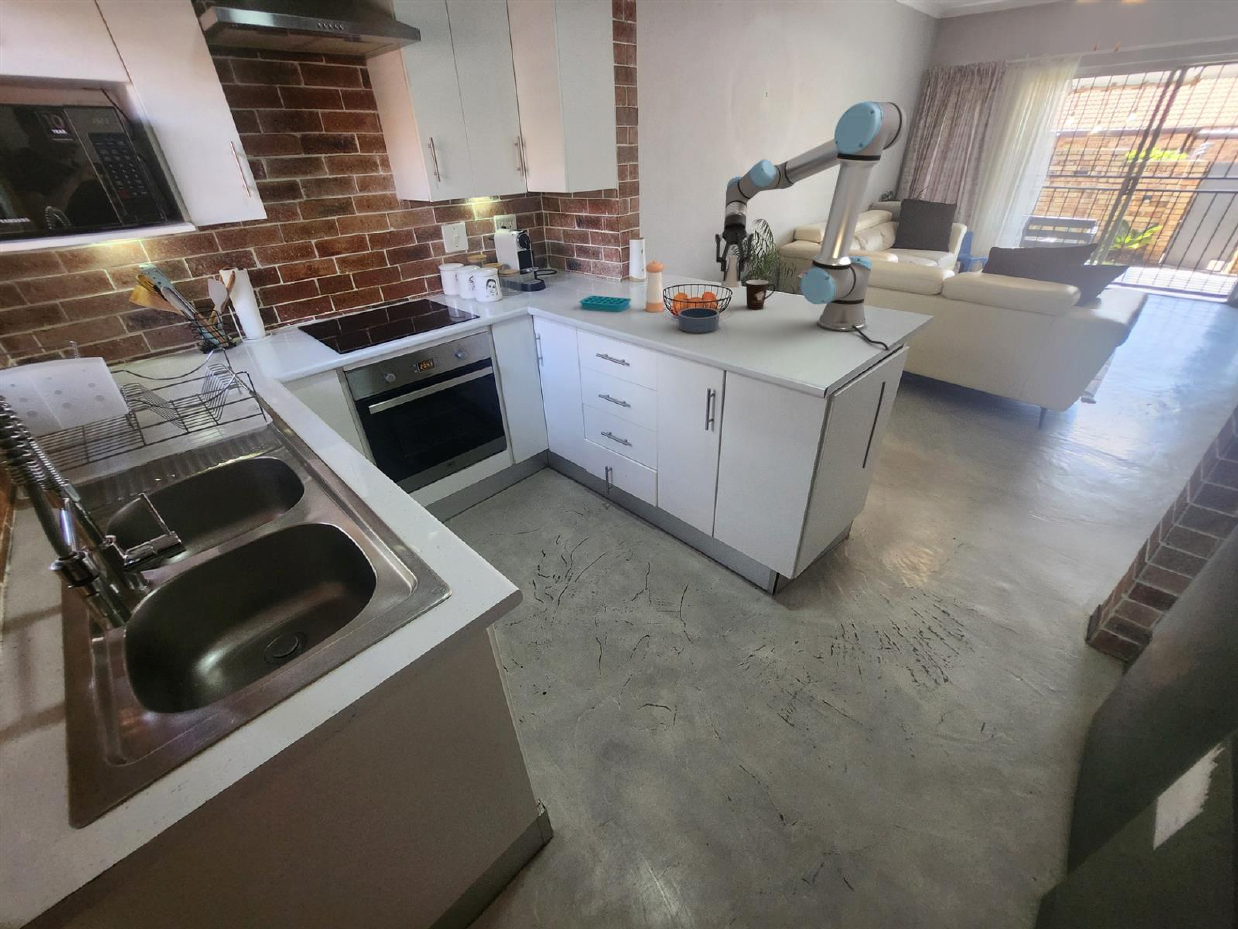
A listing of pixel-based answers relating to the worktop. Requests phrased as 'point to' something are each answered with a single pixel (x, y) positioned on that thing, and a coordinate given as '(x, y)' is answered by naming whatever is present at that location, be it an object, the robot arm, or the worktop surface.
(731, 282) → the flask
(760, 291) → the coffee mug
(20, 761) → the worktop surface
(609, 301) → the ice cube tray
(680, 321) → the bowl
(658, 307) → the pepper shaker
